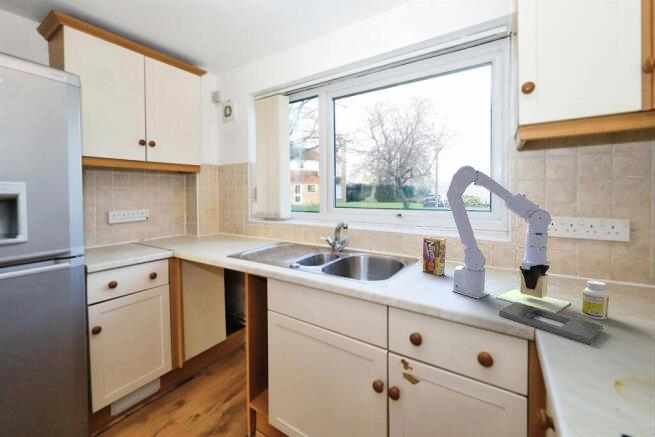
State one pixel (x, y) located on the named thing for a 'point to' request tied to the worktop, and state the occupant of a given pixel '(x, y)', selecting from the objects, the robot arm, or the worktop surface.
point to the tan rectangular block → (540, 287)
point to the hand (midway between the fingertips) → (533, 287)
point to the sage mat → (534, 301)
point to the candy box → (434, 255)
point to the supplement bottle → (595, 300)
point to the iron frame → (571, 329)
